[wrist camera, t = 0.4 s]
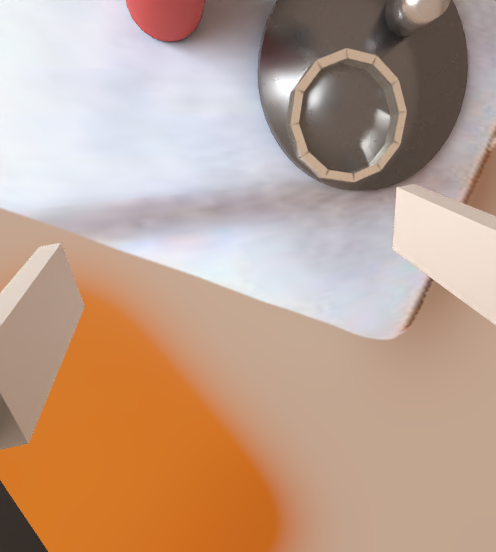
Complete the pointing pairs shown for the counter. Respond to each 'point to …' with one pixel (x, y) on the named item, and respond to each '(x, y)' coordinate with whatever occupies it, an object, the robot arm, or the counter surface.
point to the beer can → (166, 17)
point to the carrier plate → (362, 86)
